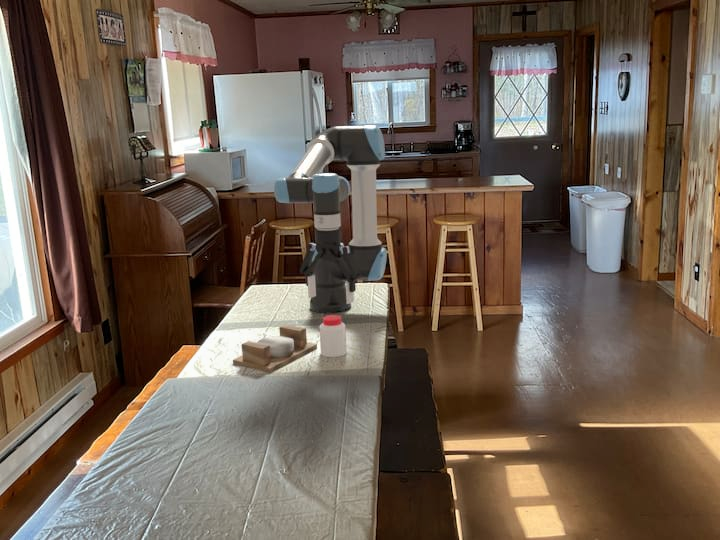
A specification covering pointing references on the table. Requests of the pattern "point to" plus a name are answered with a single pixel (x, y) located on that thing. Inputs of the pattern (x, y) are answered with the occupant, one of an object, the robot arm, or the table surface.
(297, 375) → the table surface
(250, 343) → the cardboard packaging tray
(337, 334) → the pill bottle
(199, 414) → the table surface
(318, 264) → the robot arm
